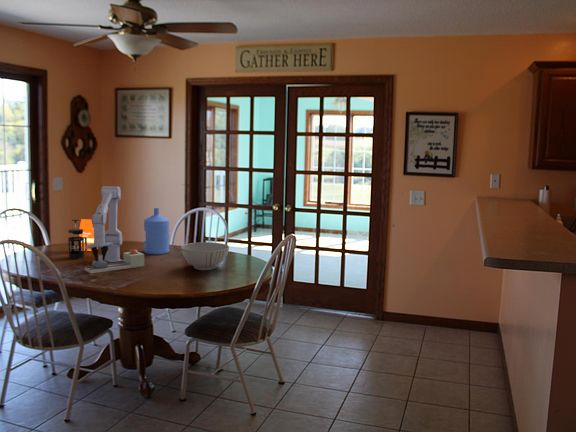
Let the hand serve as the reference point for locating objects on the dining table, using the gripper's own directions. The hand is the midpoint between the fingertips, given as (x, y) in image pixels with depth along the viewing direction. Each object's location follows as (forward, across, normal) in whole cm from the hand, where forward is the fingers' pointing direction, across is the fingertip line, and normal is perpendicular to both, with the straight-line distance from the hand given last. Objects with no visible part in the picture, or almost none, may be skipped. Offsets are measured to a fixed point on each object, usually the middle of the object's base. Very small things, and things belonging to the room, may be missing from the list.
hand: (99, 260), depth 307 cm
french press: (+6, +1, +38) cm, 38 cm away
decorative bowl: (+6, +50, -27) cm, 57 cm away
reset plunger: (0, +20, 0) cm, 20 cm away
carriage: (+3, 0, 0) cm, 3 cm away
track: (+5, +9, 0) cm, 11 cm away
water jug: (+6, +47, +26) cm, 54 cm away
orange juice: (+6, +14, +54) cm, 56 cm away
